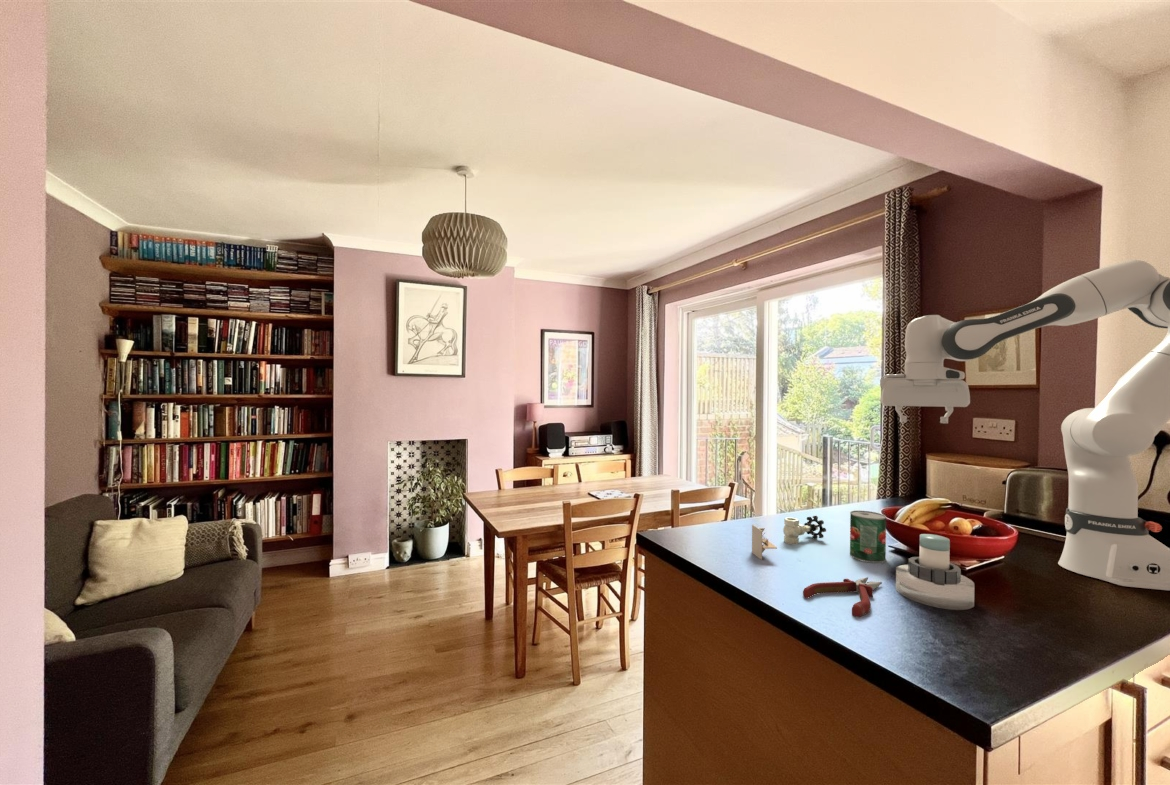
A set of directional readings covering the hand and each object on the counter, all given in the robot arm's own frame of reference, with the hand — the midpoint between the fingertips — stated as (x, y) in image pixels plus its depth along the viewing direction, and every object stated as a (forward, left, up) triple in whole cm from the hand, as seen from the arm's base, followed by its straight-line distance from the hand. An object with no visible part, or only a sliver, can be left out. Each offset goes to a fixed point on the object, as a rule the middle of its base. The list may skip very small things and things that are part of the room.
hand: (923, 422), depth 131 cm
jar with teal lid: (+5, +41, -30) cm, 51 cm away
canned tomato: (+15, +21, -34) cm, 43 cm away
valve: (+31, +14, -34) cm, 48 cm away
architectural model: (+40, +33, -34) cm, 62 cm away
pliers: (+19, +50, -35) cm, 64 cm away
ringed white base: (+5, +40, -34) cm, 52 cm away
